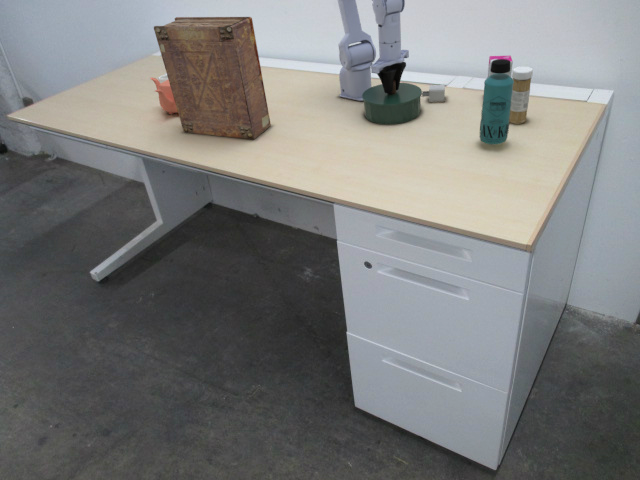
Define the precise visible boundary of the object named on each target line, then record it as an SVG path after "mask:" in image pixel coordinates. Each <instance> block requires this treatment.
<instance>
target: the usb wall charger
mask: <svg viewBox="0 0 640 480" xmlns="http://www.w3.org/2000/svg"><path fill="white" fill-rule="evenodd" d="M445 90H446V84H430V85H428V90H424V91H423V90H422V94H421V96H420V98H421V97H423V98H424V97H428V102H429V103H438V102H439V103H440V102H441V103H444V102H445V98H446V97H445V96H446V94H445Z"/></svg>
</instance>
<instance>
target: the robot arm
mask: <svg viewBox="0 0 640 480" xmlns="http://www.w3.org/2000/svg"><path fill="white" fill-rule="evenodd" d="M371 1H372V10H373V13H374V16H375V17H374V18H375V24H376V25H377V31H378V32H377V34H378V52H379V53H378V54H379V56H378V57H379V58H378V59H377V60H376V58H377V50H376V46H375V44H374V42H373V39H372V36H371V35H370V34H369V33H367V32H365V31H363V29H362V28H363V27H362V24H361V19H360V14H359V9H358V5H357V0H337V4H338V9H339V13H340V18H341V22H342V27H343V32H344V36H343V37H342V38H341V40H340V41H339V43H338V45H337V46H338V52H339V53H338V57H339V63H340V65H341V66H342V67H341V69H340V71H339V75H338V76H339V86H340V87H339V89H340V94H339V95H338V96H339V97H340V98H343V99H349V100H354V101H359V102H364V100H363V99H362V94H363V92H364V91H366V90H367V89H369V88H371V87H373V86H372V74H375V75H377V76H378V78H379V80H380V82H381V84H382V85H383V88H384V92H385V93H388V94H392V91H393V80H396V90H398V89H399V84H400V83H401V79H402V76H403V73H404V71H405V69H406V67H407V62H406V61H405V59H408V58H409V57H410V50H409V49H402V39H401V38H402V34H401V32H402V31H401V30H402V29H401V28H402V27H401V26H402V25H401V13H402V12H403V11H404V10H405V5H406V0H371Z"/></svg>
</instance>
